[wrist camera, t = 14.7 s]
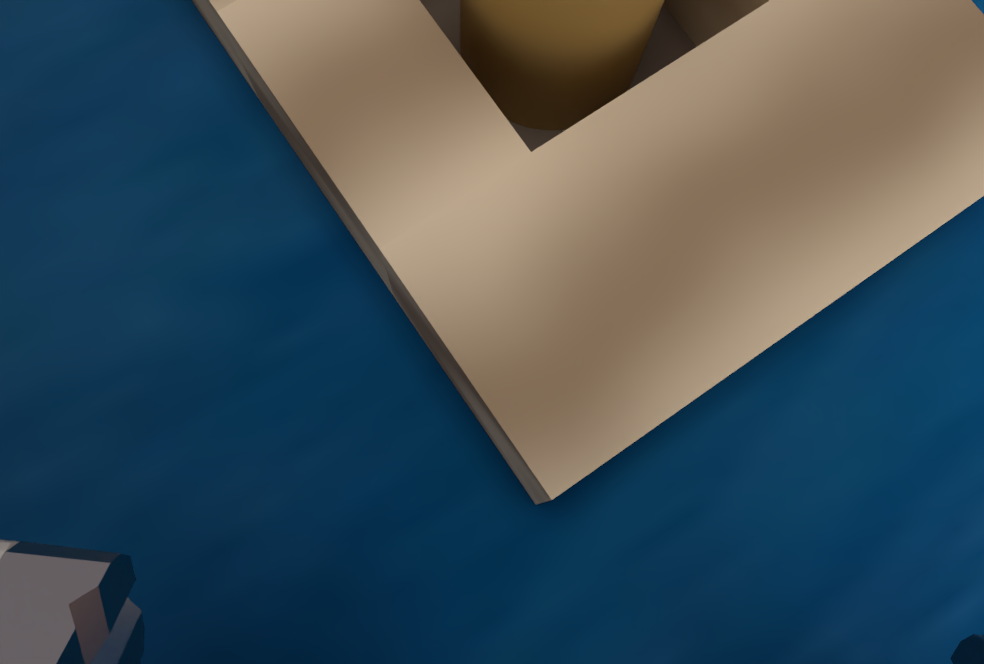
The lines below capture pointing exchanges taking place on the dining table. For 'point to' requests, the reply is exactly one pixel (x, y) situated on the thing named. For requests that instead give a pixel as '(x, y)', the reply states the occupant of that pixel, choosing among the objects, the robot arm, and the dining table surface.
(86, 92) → the dining table surface
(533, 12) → the pin
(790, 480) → the dining table surface
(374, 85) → the hole block
